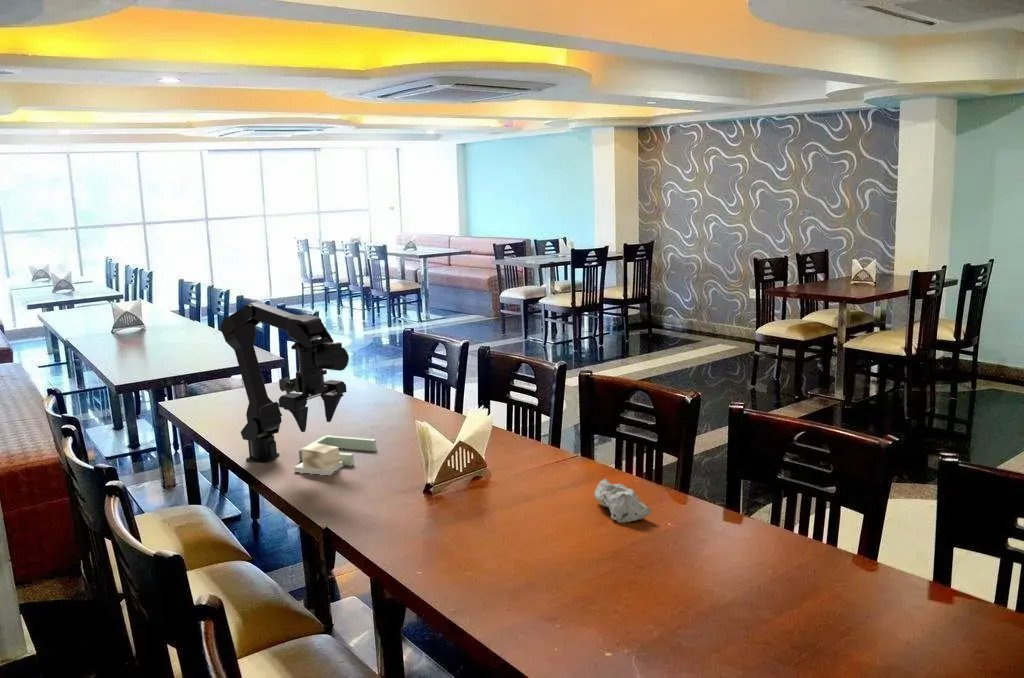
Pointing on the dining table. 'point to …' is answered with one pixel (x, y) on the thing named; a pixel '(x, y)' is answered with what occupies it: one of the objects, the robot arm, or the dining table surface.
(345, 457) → the shelf bay
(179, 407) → the dining table surface
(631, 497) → the rock
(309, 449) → the block
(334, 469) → the stand
